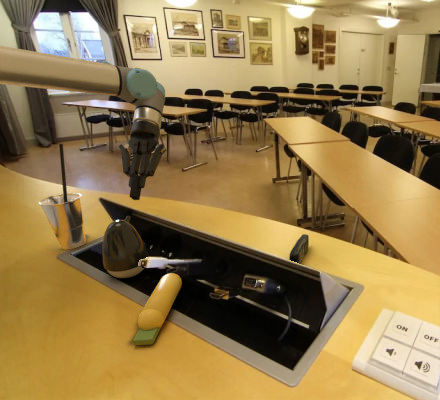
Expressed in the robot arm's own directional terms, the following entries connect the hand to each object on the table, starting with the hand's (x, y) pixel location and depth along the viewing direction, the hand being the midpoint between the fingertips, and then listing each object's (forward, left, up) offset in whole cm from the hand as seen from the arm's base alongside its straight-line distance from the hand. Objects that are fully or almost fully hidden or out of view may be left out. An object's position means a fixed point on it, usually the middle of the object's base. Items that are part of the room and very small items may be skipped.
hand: (134, 198), depth 89 cm
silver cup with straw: (-24, +8, -18) cm, 31 cm away
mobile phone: (+46, -6, -18) cm, 49 cm away
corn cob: (+14, -28, -17) cm, 35 cm away
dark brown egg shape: (0, -10, -18) cm, 20 cm away
